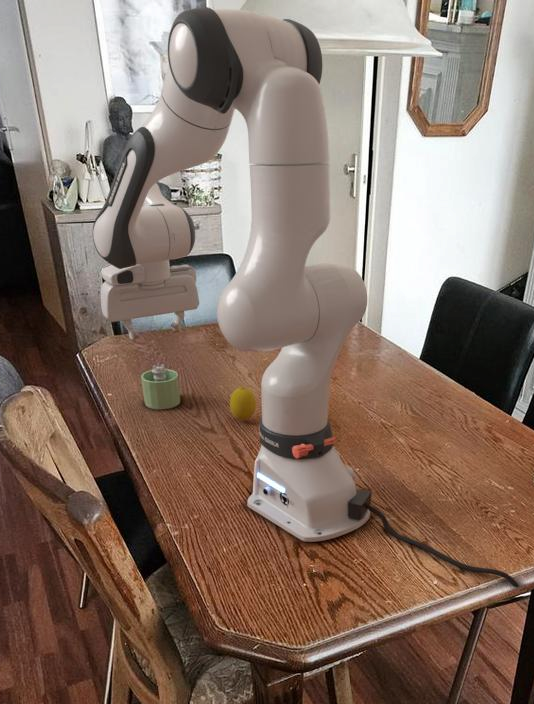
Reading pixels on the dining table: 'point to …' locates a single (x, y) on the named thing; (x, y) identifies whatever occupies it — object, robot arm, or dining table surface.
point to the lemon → (242, 403)
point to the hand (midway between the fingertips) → (155, 335)
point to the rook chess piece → (159, 373)
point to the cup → (161, 390)
